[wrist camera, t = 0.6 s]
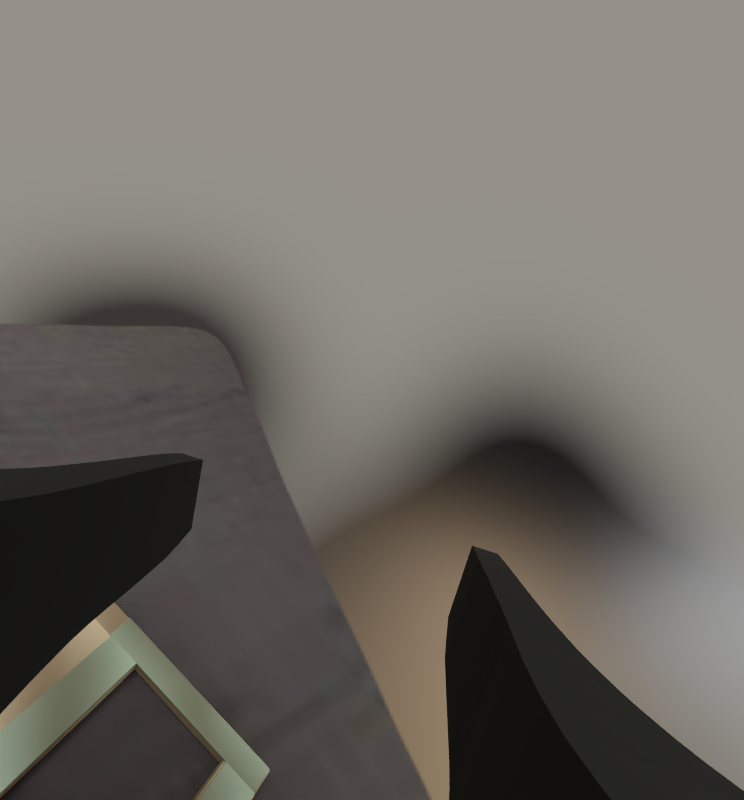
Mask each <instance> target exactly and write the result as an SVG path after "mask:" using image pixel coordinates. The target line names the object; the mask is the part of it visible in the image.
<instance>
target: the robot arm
mask: <svg viewBox="0 0 744 800" xmlns="http://www.w3.org/2000/svg"><path fill="white" fill-rule="evenodd" d="M202 462H203V460H201V459H198V458H195V457H191V456H188V455H185V454H182V453H171V454H158V455H148V456H140V457H132V458H124V459H116V460H108V461H100V462H91V463H81V464H71V465H61V466H51V467H38V468H21V469H0V714H1V713H2V712H3V711H4V710H5V709H6V708H7V706H8V705H9V704H10V703H11V702H12V701H13V700H14V699H15V698H16V697H17V696H18V695H19V694H20V692H21V691H22V690H23V689H24V688H25V687H26V686H27V685H28V684H29V683H30V682H31V681H32V680H33V679H34V678H35V677H36V676H37V675H38V674H39V672H40V671H41V670H42V669H43V668H44V667H45V666H46V665H47V664H48V663H49V662H50V661H51V660H52V659H53V658H54V657H55V656H56V655H57V654H58V653H59V652H60V651H61V650H62V649H63V648H64V647H65V646H66V645H67V644H68V643H69V642H70V641H71V640H72V639H73V638H74V637H75V636H76V635H77V634H79V633H80V632H81V631H82V630H83V629H84V628H85V627H86V626H87V625H88V624H89V623H91V622H92V621H93V620H94V619H95V618H96V617H98V616H99V615H100V614H101V613H102V612H104V611H105V610H106V609H107V608H108V607H109V606H111V605H112V604H113V603H114V602H115V601H116V600H118V599H119V598H120V597H121V596H122V595H123V594H125V593H126V592H127V591H128V590H129V589H131V588H132V587H133V586H134V585H135V584H136V583H138V582H139V581H140V580H141V579H142V578H143V577H144V576H146V575H147V574H148V573H149V572H150V571H151V570H153V569H154V568H155V567H156V566H157V565H158V564H159V563H160V562H162V561H163V560H164V559H165V558H166V557H167V556H168V555H169V554H170V553H171V551H172V550H173V549H174V548H175V547H176V546H177V545H178V544H179V543H180V541H181V540H182V539H183V538H184V537H185V536H186V534H187V533H188V532H189V531H190V530H191V527H192V521H193V515H194V509H195V503H196V497H197V492H198V486H199V480H200V474H201V468H202ZM445 667H446V668H445V670H446V694H447V695H446V696H447V718H448V741H449V761H450V762H449V763H450V764H449V765H450V766H449V767H450V792H449V793H450V794H449V800H744V791H743V790H741V789H740V788H738V787H737V786H736V785H735V784H733V783H732V782H731V781H729V780H728V779H727V778H725V777H724V776H722V775H721V774H720V773H718V772H717V771H716V770H714V769H713V768H712V767H710V766H709V765H707V764H706V763H705V762H704V761H702V760H701V759H700V758H699V757H697V756H696V755H695V754H693V753H692V752H691V751H690V750H689V749H687V748H686V747H685V746H683V745H682V744H681V743H680V742H678V741H677V740H676V739H675V738H673V737H672V736H671V735H670V734H669V733H667V732H666V731H665V730H664V729H663V728H662V727H660V726H659V725H658V724H657V723H656V722H655V721H653V720H652V719H651V718H650V717H649V716H647V715H646V714H645V713H644V712H642V710H640V709H639V708H638V707H637V706H636V705H635V704H633V703H632V702H631V701H630V700H629V699H628V698H627V697H626V696H624V695H623V694H622V693H621V692H620V691H619V690H618V689H617V688H616V687H615V686H614V685H613V684H612V683H611V682H610V681H609V680H607V679H606V678H605V677H604V676H603V675H602V674H601V673H600V672H599V671H598V670H597V669H596V668H595V667H594V666H593V665H592V664H591V663H590V662H589V661H588V660H587V659H586V658H585V657H584V656H583V655H582V654H581V653H580V652H579V651H578V650H577V649H576V648H575V647H574V645H573V644H572V643H571V642H570V641H569V640H568V639H567V638H566V637H565V635H564V634H563V633H562V632H561V631H560V630H559V629H558V628H557V627H556V625H555V624H554V623H553V622H552V621H551V619H550V618H549V617H548V616H547V615H546V614H545V612H544V611H543V610H542V609H541V608H540V606H539V605H538V604H537V603H536V601H535V600H534V599H533V598H532V596H531V595H530V594H529V593H528V591H527V590H526V589H525V588H524V586H523V585H522V584H521V583H520V581H519V580H518V578H517V577H516V576H515V575H514V573H513V572H512V571H511V569H510V568H509V567H508V566H507V565H506V563H505V562H504V561H503V560H502V558H501V557H500V556H499V555H498V554H496V553H493V552H490V551H487V550H484V549H481V548H477V547H474V546H472V548H471V551H470V554H469V557H468V560H467V563H466V566H465V569H464V572H463V575H462V578H461V581H460V584H459V587H458V590H457V593H456V596H455V599H454V602H453V605H452V608H451V611H450V614H449V617H448V627H447V638H446V652H445Z"/></svg>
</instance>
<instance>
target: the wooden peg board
mask: <svg viewBox="0 0 744 800" xmlns="http://www.w3.org/2000/svg"><path fill="white" fill-rule="evenodd" d="M134 669H135V671H136V672H137V673H138V674H139V675H140V676H141V677H142V678H143V679H144V680H145V682H146V683H147V684H148V685H149V686H150V687H151V688H152V689H153V690H154V692H155V693H156V694H157V695H158V696H159V697H160V698H161V699H162V700H163V701H164V703H165V704H166V705H167V706H168V707H169V708H170V709H171V710H172V711H173V713H174V714H175V715H176V716H177V717H178V718H179V719H180V720H181V721H182V723H183V724H184V725H185V726H186V727H187V728H188V729H189V730H190V731H191V732H192V734H193V735H194V736H195V737H196V738H197V739H198V740H199V741H200V742H201V744H202V745H203V746H204V747H205V748H206V749H207V750H208V751H209V752H210V753H211V755H212V756H213V757H214V758H215V759H216V760H217V761H218V762H219V764H218V766H217V767H216V768H215V770H214V771H213V772H212V774H211V775H210V777H209V778H208V779H207V781H206V782H205V783H204V785H203V786H202V788H201V789H200V790H199V792H198V793H197V794H196V796H195V797H194V799H193V800H252V798H253V797H254V795H255V794H256V792H257V791H258V789H259V787H260V786H261V784H262V783H263V781H264V780H265V778H266V776H267V775H268V773H269V772H270V770H269V768H268V766H267V765H266V764H265V763H264V762H263V761H262V760H261V759H260V758H259V757H258V756H257V755H256V753H255V752H254V751H253V750H252V749H251V748H250V747H249V746H248V745H247V744H246V743H245V742H244V740H243V739H242V738H241V737H240V736H239V735H238V734H237V733H236V732H235V731H234V730H233V729H232V728H231V726H230V725H229V724H228V723H227V722H226V721H225V720H224V719H223V718H222V717H221V716H220V715H219V713H218V712H217V711H216V710H215V709H214V708H213V707H212V706H211V705H210V704H209V703H208V702H207V700H206V699H205V698H204V697H203V696H202V695H201V694H200V693H199V692H198V691H197V690H196V689H195V688H194V686H193V685H192V684H191V683H190V682H189V681H188V680H187V679H186V678H185V677H184V676H183V675H182V673H181V672H180V671H179V670H178V669H177V668H176V667H175V666H174V665H173V664H172V663H171V662H170V660H169V659H168V658H167V657H166V656H165V655H164V654H163V653H162V652H161V651H160V650H159V649H158V648H157V646H156V645H155V644H154V643H153V642H152V641H151V640H150V639H149V638H148V637H147V636H146V635H145V633H144V632H143V631H142V630H141V629H140V628H139V627H138V626H137V625H136V624H135V623H134V622H133V620H132V619H131V618H128V617H127V616H126V615H125V613H124V612H123V611H122V610H121V609H120V608H119V607H118V606H117V605H116V604H115V603H113V604H112V605H111V606H109V607H108V608H107V609H106V610H105V611H104V612H102V613H101V614H100V615H99V616H98V617H96V618H95V619H94V620H93V621H92V622H91V623H89V624H88V625H87V626H86V627H85V628H84V629H83V630H82V631H81V632H80V633H79V634H77V635H76V636H75V637H74V638H73V639H72V640H71V641H70V642H69V643H68V644H67V645H66V646H65V647H64V648H63V649H62V650H61V651H60V652H59V653H58V654H57V655H56V656H55V657H54V658H53V659H52V660H51V661H50V662H49V663H48V664H47V665H46V666H45V667H44V668H43V669H42V670H41V671H40V672H39V674H38V675H37V676H36V677H35V678H34V679H33V680H32V681H31V682H30V683H29V684H28V685H27V686H26V687H25V688H24V689H23V690H22V691H21V692H20V694H19V695H18V696H17V697H16V698H15V699H14V700H13V701H12V702H11V703H10V704H9V705H8V706H7V708H6V709H5V710H4V711H3V712H2V713H1V714H0V798H1V797H2V796H3V795H4V794H5V793H6V792H7V791H9V790H10V789H11V788H12V787H13V786H14V785H15V784H16V783H17V782H18V781H19V780H20V779H21V778H22V777H23V776H24V775H25V774H26V773H27V772H28V771H29V770H30V769H31V768H32V767H34V766H35V765H36V764H37V763H38V762H39V761H40V760H41V759H42V758H43V757H44V756H45V755H46V754H47V753H48V752H49V751H50V750H51V749H52V748H53V747H54V746H55V745H56V744H57V743H58V742H60V741H61V740H62V739H63V738H64V737H65V736H66V735H67V734H68V733H69V732H70V731H71V730H72V729H73V728H74V727H75V726H76V725H77V724H78V723H79V722H80V721H81V720H82V719H83V718H84V717H86V716H87V715H88V714H89V713H90V712H91V711H92V710H93V709H94V708H95V707H96V706H97V705H98V704H99V703H100V702H101V701H102V700H103V699H104V698H105V697H106V696H107V695H108V694H109V693H110V692H112V691H113V690H114V689H115V688H116V687H117V686H118V685H119V684H120V683H121V682H122V681H123V680H124V679H125V678H126V677H127V676H128V675H129V674H130V673H131V672H132V671H133V670H134Z"/></svg>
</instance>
